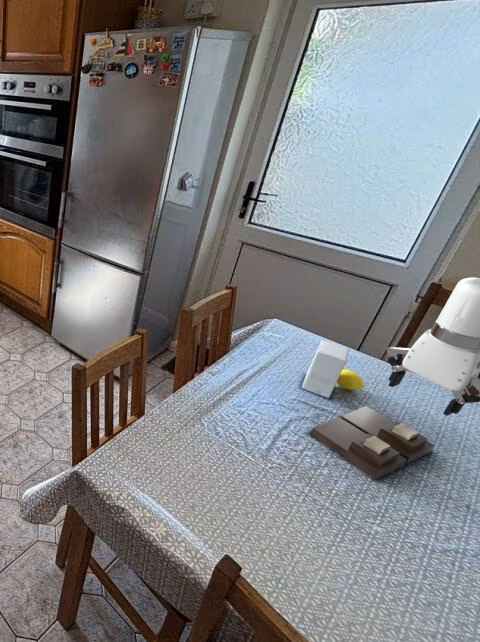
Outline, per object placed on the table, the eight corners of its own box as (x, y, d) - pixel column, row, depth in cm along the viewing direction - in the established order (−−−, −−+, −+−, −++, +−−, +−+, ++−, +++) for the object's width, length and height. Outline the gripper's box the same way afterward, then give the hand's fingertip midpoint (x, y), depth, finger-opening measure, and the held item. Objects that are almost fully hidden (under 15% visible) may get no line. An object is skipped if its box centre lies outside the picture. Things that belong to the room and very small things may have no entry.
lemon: (326, 383, 121) (332, 368, 119) (335, 377, 123) (342, 362, 121) (355, 397, 115) (362, 382, 113) (364, 391, 117) (372, 376, 115)
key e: (387, 451, 95) (390, 445, 94) (378, 455, 94) (382, 450, 93) (371, 440, 97) (374, 435, 96) (362, 444, 96) (365, 439, 96)
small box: (329, 398, 115) (346, 361, 109) (301, 388, 119) (317, 351, 113) (332, 384, 120) (349, 348, 115) (306, 375, 124) (321, 339, 119)
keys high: (402, 466, 95) (410, 453, 93) (375, 479, 92) (383, 467, 90) (335, 423, 107) (341, 411, 105) (309, 434, 104) (315, 422, 102)
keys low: (430, 451, 98) (438, 439, 97) (405, 464, 95) (413, 452, 94) (362, 411, 110) (368, 400, 109) (338, 422, 107) (343, 410, 106)
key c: (416, 437, 98) (419, 432, 97) (407, 441, 97) (411, 436, 96) (399, 428, 101) (402, 422, 100) (391, 431, 100) (394, 426, 99)
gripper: (529, 355, 80) (482, 420, 87) (415, 312, 94) (383, 371, 102) (509, 364, 77) (463, 430, 85) (395, 318, 92) (364, 379, 99)
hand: (419, 398), depth 93 cm, fingers open, 9 cm apart
